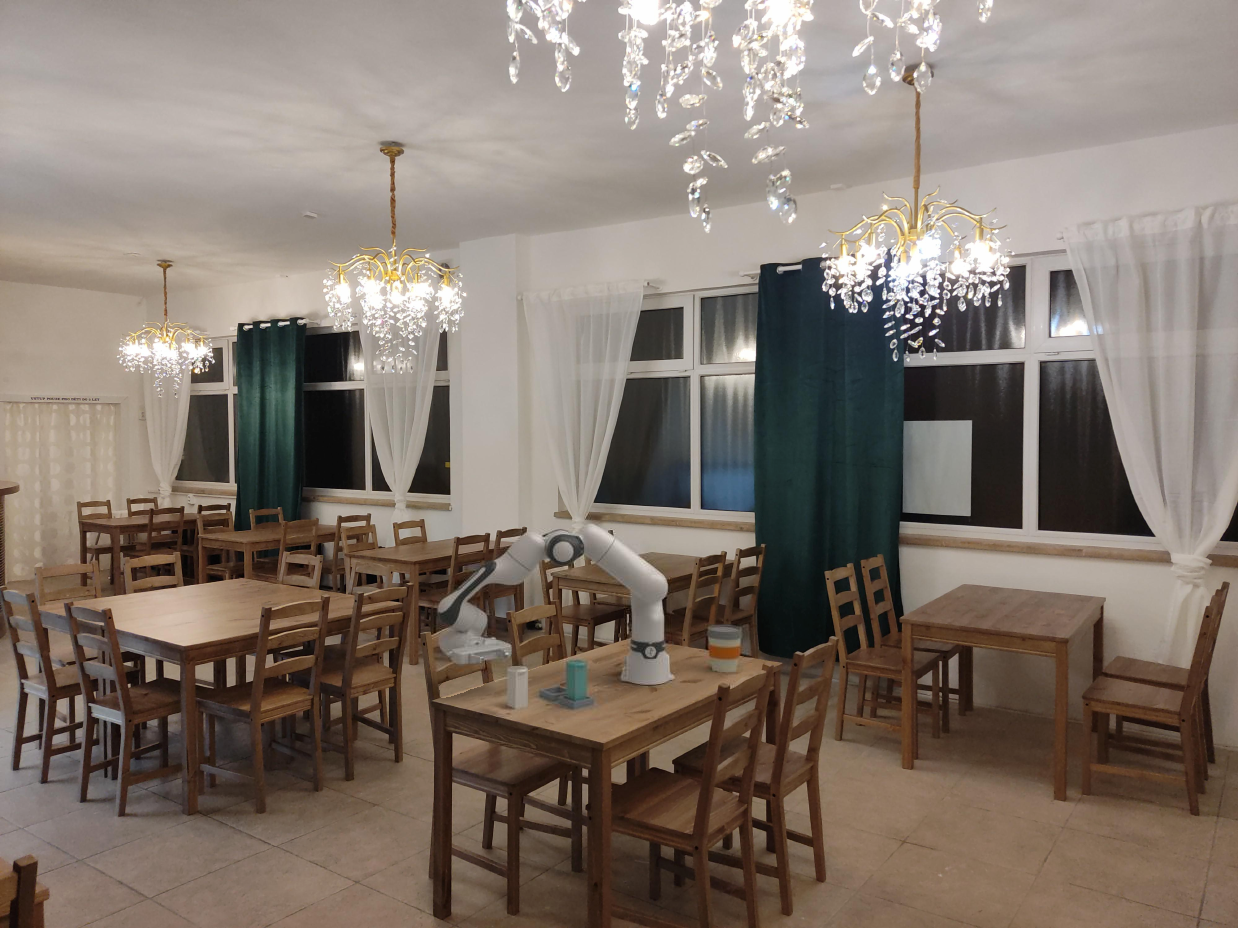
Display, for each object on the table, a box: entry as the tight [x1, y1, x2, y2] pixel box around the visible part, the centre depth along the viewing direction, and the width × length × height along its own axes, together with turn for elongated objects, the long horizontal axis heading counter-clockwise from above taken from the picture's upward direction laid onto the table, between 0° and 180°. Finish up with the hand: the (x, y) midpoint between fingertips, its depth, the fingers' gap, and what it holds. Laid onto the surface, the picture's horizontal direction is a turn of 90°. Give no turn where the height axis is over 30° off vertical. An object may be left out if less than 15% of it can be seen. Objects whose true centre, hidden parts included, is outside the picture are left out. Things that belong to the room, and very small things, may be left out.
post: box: [506, 665, 529, 710], centre depth 268 cm, size 6×6×13 cm
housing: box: [534, 685, 600, 712], centre depth 274 cm, size 20×10×4 cm, turn 41°
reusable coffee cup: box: [707, 624, 743, 674], centre depth 319 cm, size 13×13×15 cm
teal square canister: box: [565, 658, 588, 702], centre depth 270 cm, size 6×6×13 cm
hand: (494, 657), depth 277 cm, fingers open, 8 cm apart
